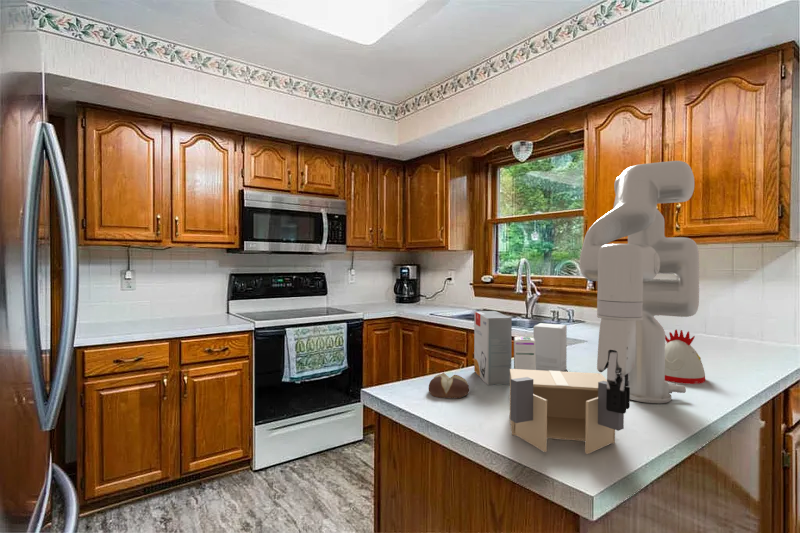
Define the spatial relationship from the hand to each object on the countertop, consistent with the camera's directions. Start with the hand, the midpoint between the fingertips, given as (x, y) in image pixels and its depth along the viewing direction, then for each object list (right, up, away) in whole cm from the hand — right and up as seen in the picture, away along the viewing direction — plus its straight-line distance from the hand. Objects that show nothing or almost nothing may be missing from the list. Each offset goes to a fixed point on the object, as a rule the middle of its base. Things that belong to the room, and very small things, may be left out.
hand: (617, 408), depth 81 cm
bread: (-27, -9, +39) cm, 48 cm away
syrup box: (-5, -9, +43) cm, 44 cm away
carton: (-6, -9, +14) cm, 18 cm away
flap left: (-17, -8, +4) cm, 19 cm away
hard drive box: (-12, -8, +54) cm, 56 cm away
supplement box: (+9, -8, +64) cm, 65 cm away
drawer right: (-1, -9, +1) cm, 9 cm away
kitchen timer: (+46, -9, +55) cm, 73 cm away
